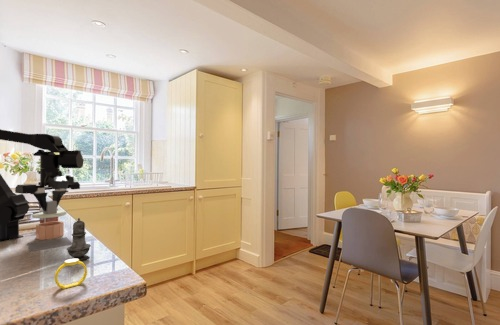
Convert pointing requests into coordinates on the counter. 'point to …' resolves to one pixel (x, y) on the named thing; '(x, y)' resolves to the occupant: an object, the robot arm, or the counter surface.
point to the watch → (68, 263)
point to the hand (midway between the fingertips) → (49, 210)
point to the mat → (49, 244)
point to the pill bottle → (43, 220)
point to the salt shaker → (79, 242)
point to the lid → (50, 211)
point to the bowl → (49, 230)
